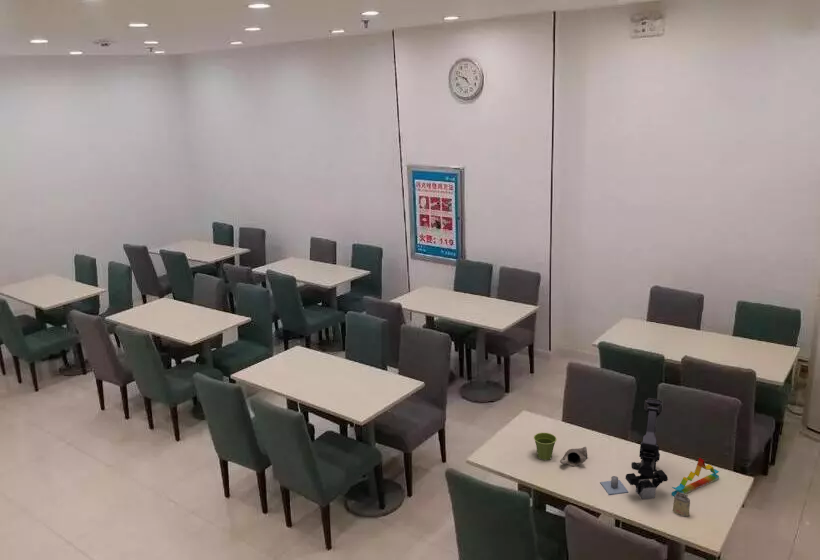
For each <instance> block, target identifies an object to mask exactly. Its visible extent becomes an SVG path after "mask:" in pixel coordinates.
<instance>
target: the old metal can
mask: <svg viewBox="0 0 820 560" xmlns="http://www.w3.org/2000/svg"><path fill="white" fill-rule="evenodd" d="M672 504H673V506H672V512H673V513H674V514H677V515H679V516H683V517H689V515H690V506H691V499H690V498H689V497H688V495H687V494H685V493H680V492H677V493H676V495H675V496H674V497H673V503H672Z"/></svg>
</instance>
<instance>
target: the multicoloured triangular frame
mask: <svg viewBox="0 0 820 560" xmlns="http://www.w3.org/2000/svg"><path fill="white" fill-rule="evenodd" d="M702 469H704V470H705V471H707V470H708V471H710V473H711V474H709V475H706V476H704V477H702V478H699V479H697V480H696V481H693V480H694V478H695V476H697V477H700V474H701V471H702ZM718 473H720V471H719V470H717V469H716V468H714V467H713V466H712V465H711V464H706V462H705V460H704V459H703V458H701V457H699V458H698V459H697V464H696V467H695V470H694V472H693V471H690V472H689V473H688V475H687V477H685V476H683V477H682V478H681V481H680V482H679V484H678V486H676V487H673V486H671V487H672V488H671V489H674V490H673V491H672V492H671V496H672V497H673V498H674V496H675V495H676V493H677V492H680V493H685V494H686V495H687V494H689V493H691V492H693V491H696V490H698V489H699V488H702V487H704V486H707V485H709V484H710V483H712V482H713V483H714V482H716V481H717V480H719V478H720V475H718ZM688 481H690V483H689V484H687V483H688ZM692 481H693V482H692Z"/></svg>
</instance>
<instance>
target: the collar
mask: <svg viewBox="0 0 820 560" xmlns="http://www.w3.org/2000/svg"><path fill="white" fill-rule="evenodd" d="M640 484H641V489H640V493H639V494H638V492H637V489H636V488H635V493H636V495H638V497H639V498H640V499H641V500H650V499H655V498H656V489H657V488H656V487H655V486H654V484H653V483H652V480H651V479H648V480H640Z"/></svg>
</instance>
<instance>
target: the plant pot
mask: <svg viewBox="0 0 820 560" xmlns="http://www.w3.org/2000/svg"><path fill="white" fill-rule="evenodd" d="M557 439H558V438H557V437H556V435H554V434H552V433H549V432H538V433H536V434H534V436H533V440H534V441H535V447H536V453H537V454H536V455H537V458H538V459H540V460H543V461H549V460H551V459H552V457H553V451H554V448H555V444H556V442H557Z"/></svg>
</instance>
